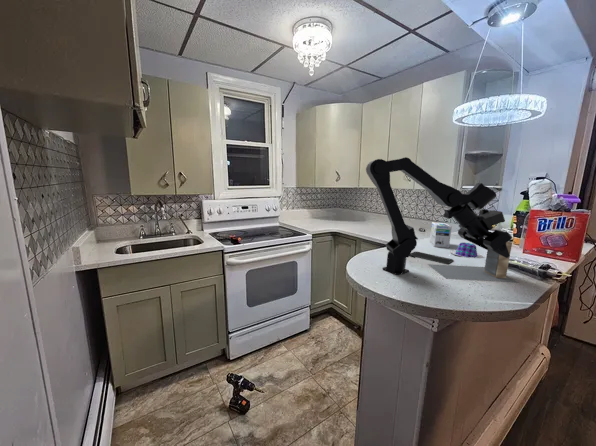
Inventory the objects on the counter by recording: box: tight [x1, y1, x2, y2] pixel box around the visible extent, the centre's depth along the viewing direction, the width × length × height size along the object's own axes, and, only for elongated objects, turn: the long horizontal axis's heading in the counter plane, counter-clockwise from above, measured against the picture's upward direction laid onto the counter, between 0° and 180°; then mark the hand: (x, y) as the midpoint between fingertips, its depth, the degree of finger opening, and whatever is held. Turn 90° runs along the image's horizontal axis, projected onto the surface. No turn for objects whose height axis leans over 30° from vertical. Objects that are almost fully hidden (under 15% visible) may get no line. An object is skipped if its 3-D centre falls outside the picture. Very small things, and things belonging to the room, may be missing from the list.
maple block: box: [484, 240, 513, 278], centre depth 83 cm, size 3×6×12 cm, turn 176°
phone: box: [408, 251, 454, 265], centre depth 101 cm, size 8×1×15 cm
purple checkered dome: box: [450, 242, 484, 259], centre depth 108 cm, size 12×12×5 cm
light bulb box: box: [429, 221, 453, 249], centre depth 124 cm, size 11×7×11 cm, turn 164°
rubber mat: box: [427, 263, 520, 283], centre depth 86 cm, size 22×14×1 cm, turn 86°
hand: (497, 252), depth 83 cm, fingers open, 9 cm apart
